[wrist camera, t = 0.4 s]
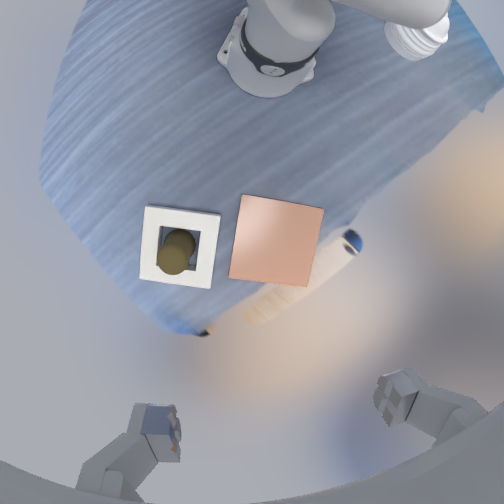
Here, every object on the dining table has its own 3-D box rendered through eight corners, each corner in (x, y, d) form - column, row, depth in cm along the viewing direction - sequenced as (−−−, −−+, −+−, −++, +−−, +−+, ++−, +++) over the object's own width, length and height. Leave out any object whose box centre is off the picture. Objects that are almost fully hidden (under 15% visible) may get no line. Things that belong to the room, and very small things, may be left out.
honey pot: (384, 48, 46) (431, 21, 28) (382, 11, 43) (422, -19, 25) (425, 69, 48) (474, 51, 30) (422, 32, 45) (464, 11, 27)
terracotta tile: (241, 194, 51) (242, 194, 50) (323, 208, 53) (324, 209, 53) (228, 276, 54) (228, 277, 54) (306, 285, 57) (306, 286, 56)
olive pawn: (160, 255, 52) (148, 274, 41) (168, 225, 50) (157, 237, 40) (190, 264, 53) (185, 285, 42) (199, 234, 52) (195, 248, 41)
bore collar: (149, 204, 49) (145, 206, 46) (220, 214, 51) (220, 216, 48) (143, 273, 52) (139, 278, 49) (210, 282, 54) (210, 288, 51)
